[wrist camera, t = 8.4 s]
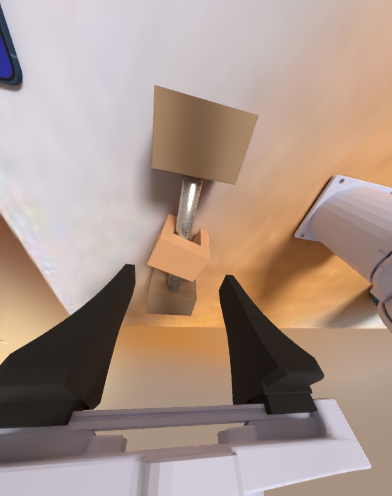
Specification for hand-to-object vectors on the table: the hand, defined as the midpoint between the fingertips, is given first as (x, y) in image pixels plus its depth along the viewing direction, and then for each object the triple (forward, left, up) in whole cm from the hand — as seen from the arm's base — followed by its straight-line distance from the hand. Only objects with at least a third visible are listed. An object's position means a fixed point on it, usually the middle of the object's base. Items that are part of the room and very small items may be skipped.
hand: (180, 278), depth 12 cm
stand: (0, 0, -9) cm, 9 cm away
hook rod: (0, 0, -6) cm, 6 cm away
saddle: (0, +1, -8) cm, 8 cm away
